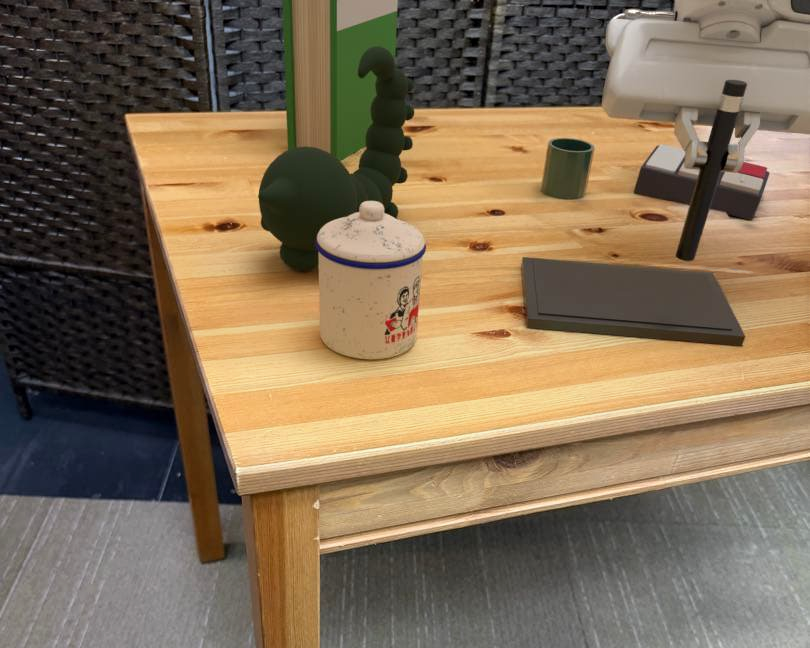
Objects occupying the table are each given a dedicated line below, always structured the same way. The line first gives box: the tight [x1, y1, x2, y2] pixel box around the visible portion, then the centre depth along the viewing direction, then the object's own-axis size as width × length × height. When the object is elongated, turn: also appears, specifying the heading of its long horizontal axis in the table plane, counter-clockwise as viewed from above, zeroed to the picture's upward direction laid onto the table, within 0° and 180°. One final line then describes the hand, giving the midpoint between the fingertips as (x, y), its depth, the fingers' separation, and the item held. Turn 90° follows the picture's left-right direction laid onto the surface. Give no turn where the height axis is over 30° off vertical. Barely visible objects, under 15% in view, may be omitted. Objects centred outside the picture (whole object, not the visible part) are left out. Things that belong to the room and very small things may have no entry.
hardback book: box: [281, 0, 399, 162], centre depth 107 cm, size 18×7×24 cm, turn 156°
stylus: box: [675, 80, 747, 262], centre depth 73 cm, size 2×2×15 cm
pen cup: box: [540, 137, 596, 201], centre depth 101 cm, size 6×6×6 cm
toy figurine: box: [257, 46, 415, 272], centre depth 81 cm, size 9×19×25 cm
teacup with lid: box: [315, 201, 427, 360], centre depth 70 cm, size 12×9×12 cm
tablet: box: [521, 256, 746, 347], centre depth 80 cm, size 20×14×1 cm
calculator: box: [633, 143, 771, 221], centre depth 104 cm, size 11×4×15 cm
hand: (713, 167), depth 72 cm, fingers closed on stylus, 2 cm apart
